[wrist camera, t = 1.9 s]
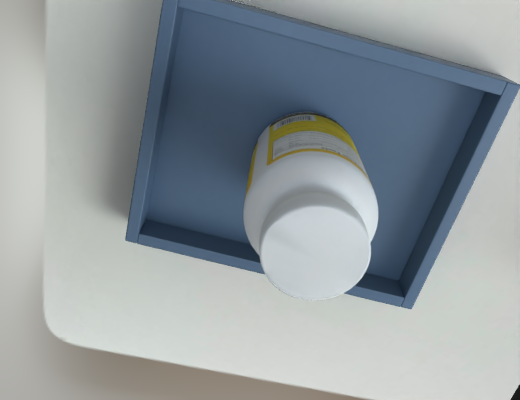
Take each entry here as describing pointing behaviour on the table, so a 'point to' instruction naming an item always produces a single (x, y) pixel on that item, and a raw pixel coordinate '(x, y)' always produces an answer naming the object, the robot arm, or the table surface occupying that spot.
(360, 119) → the tray
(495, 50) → the table surface
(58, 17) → the table surface
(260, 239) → the pill bottle
